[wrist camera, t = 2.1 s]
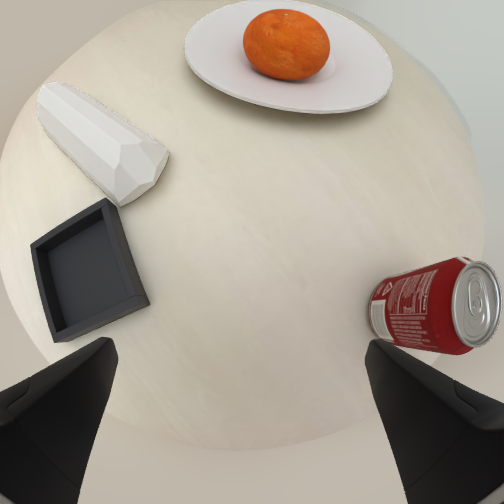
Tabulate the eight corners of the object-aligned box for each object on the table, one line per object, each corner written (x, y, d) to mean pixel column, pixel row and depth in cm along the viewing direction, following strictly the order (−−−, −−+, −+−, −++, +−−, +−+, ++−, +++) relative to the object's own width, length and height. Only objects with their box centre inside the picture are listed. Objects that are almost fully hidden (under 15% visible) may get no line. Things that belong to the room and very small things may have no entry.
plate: (272, 2, 35) (275, -33, 26) (408, 74, 32) (430, 39, 23) (147, 66, 30) (132, 21, 22) (316, 175, 27) (342, 125, 18)
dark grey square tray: (150, 304, 24) (140, 303, 21) (68, 341, 23) (53, 343, 20) (116, 206, 26) (105, 196, 23) (43, 249, 24) (29, 244, 22)
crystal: (192, 132, 23) (77, 67, 26) (129, 160, 19) (32, 83, 21) (178, 190, 29) (75, 110, 31) (128, 223, 24) (36, 128, 27)
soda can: (365, 348, 23) (445, 367, 12) (364, 277, 25) (442, 251, 13) (421, 339, 24) (506, 345, 12) (419, 274, 25) (502, 251, 13)
